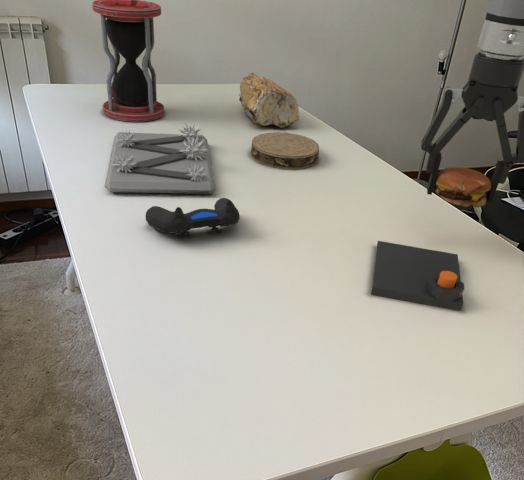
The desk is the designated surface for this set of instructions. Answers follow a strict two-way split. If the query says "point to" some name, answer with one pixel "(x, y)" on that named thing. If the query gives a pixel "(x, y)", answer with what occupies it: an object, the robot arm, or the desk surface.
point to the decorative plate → (160, 163)
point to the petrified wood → (267, 102)
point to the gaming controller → (193, 217)
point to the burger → (462, 186)
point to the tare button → (447, 279)
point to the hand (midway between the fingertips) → (458, 195)
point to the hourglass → (130, 59)
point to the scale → (416, 275)
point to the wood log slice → (284, 150)
